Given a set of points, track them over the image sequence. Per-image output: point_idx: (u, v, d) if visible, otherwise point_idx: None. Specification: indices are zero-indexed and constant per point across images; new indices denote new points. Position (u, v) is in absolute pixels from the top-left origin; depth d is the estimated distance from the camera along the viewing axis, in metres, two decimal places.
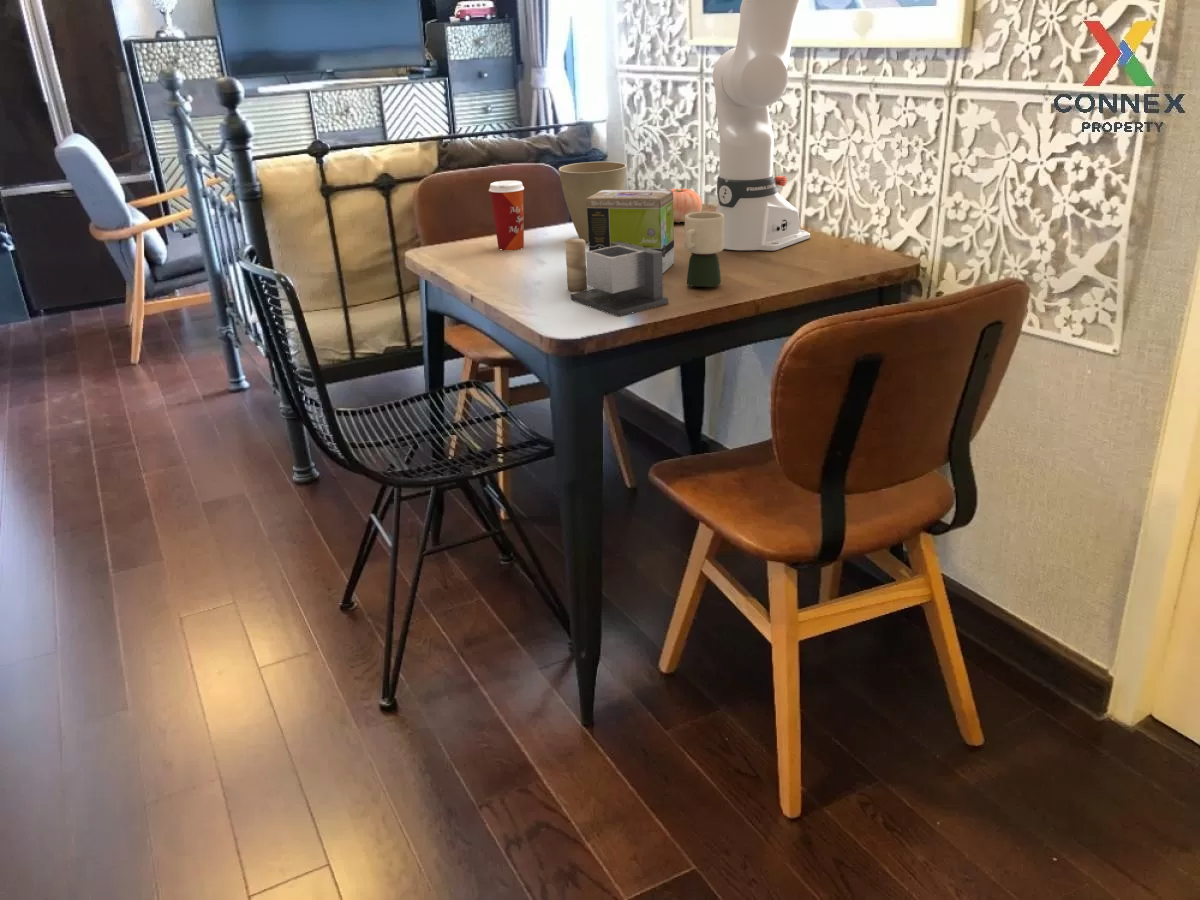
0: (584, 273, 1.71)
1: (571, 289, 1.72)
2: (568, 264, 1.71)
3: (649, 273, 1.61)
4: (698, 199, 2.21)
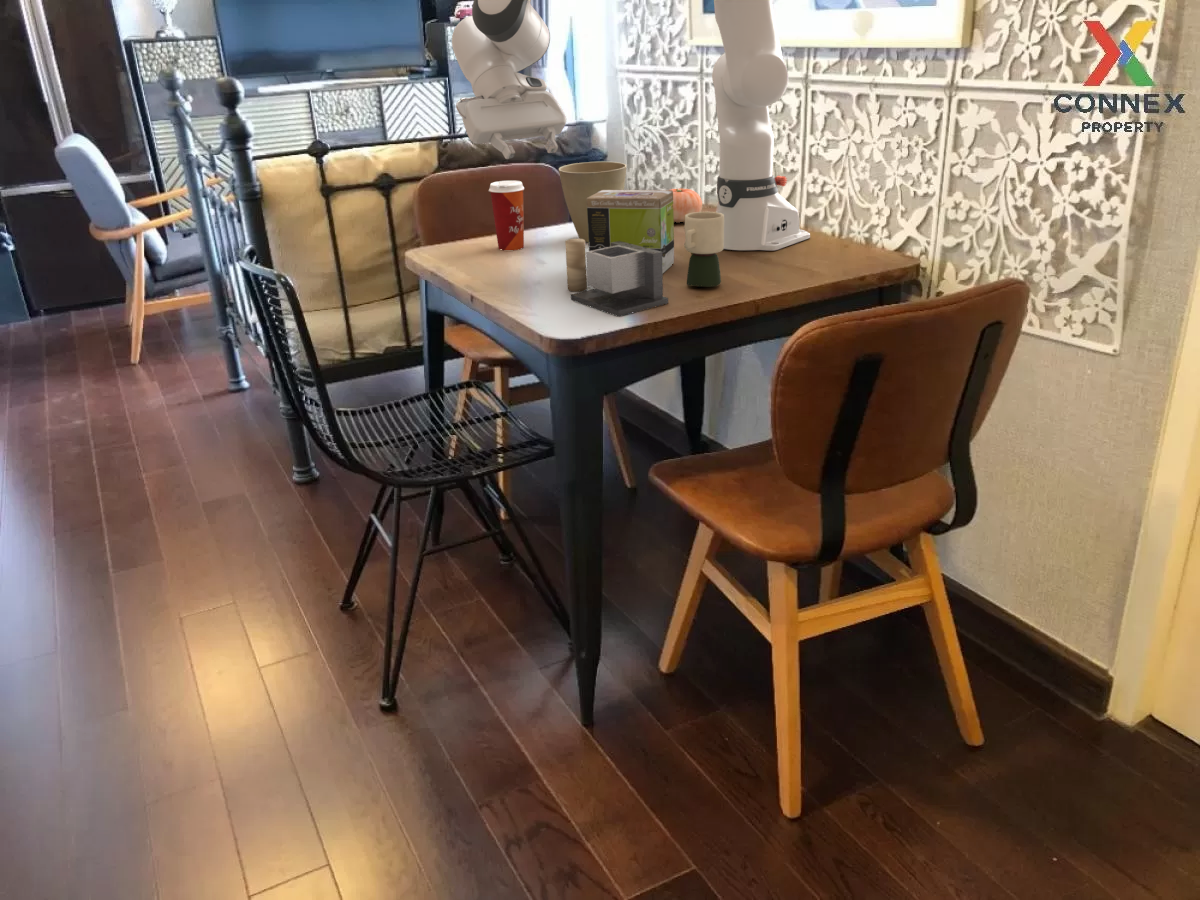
0: (584, 273, 1.71)
1: (571, 289, 1.72)
2: (568, 264, 1.71)
3: (649, 273, 1.61)
4: (698, 199, 2.21)
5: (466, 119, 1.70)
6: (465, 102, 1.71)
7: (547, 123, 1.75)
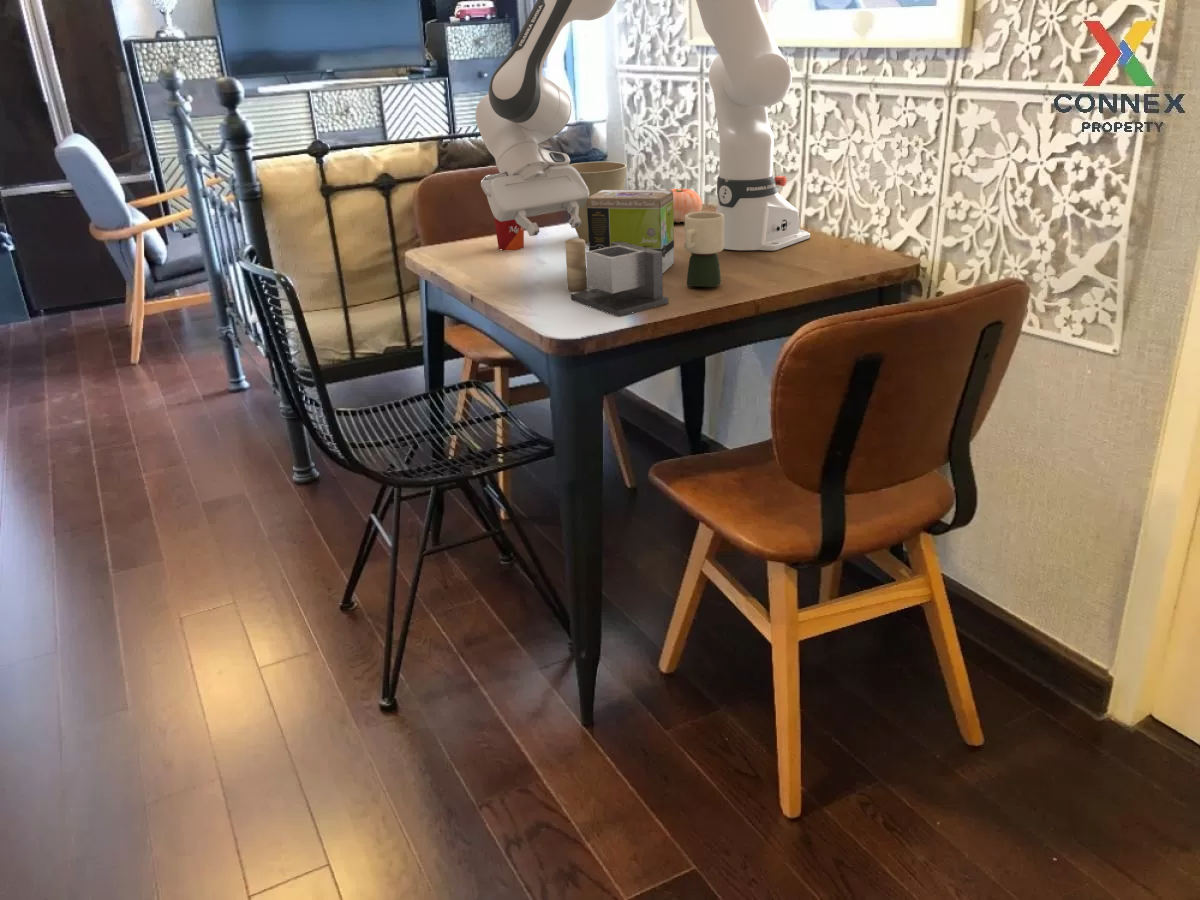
0: (584, 273, 1.71)
1: (571, 289, 1.72)
2: (568, 264, 1.71)
3: (649, 273, 1.61)
4: (698, 199, 2.21)
5: (490, 197, 1.71)
6: (489, 179, 1.72)
7: (571, 198, 1.76)
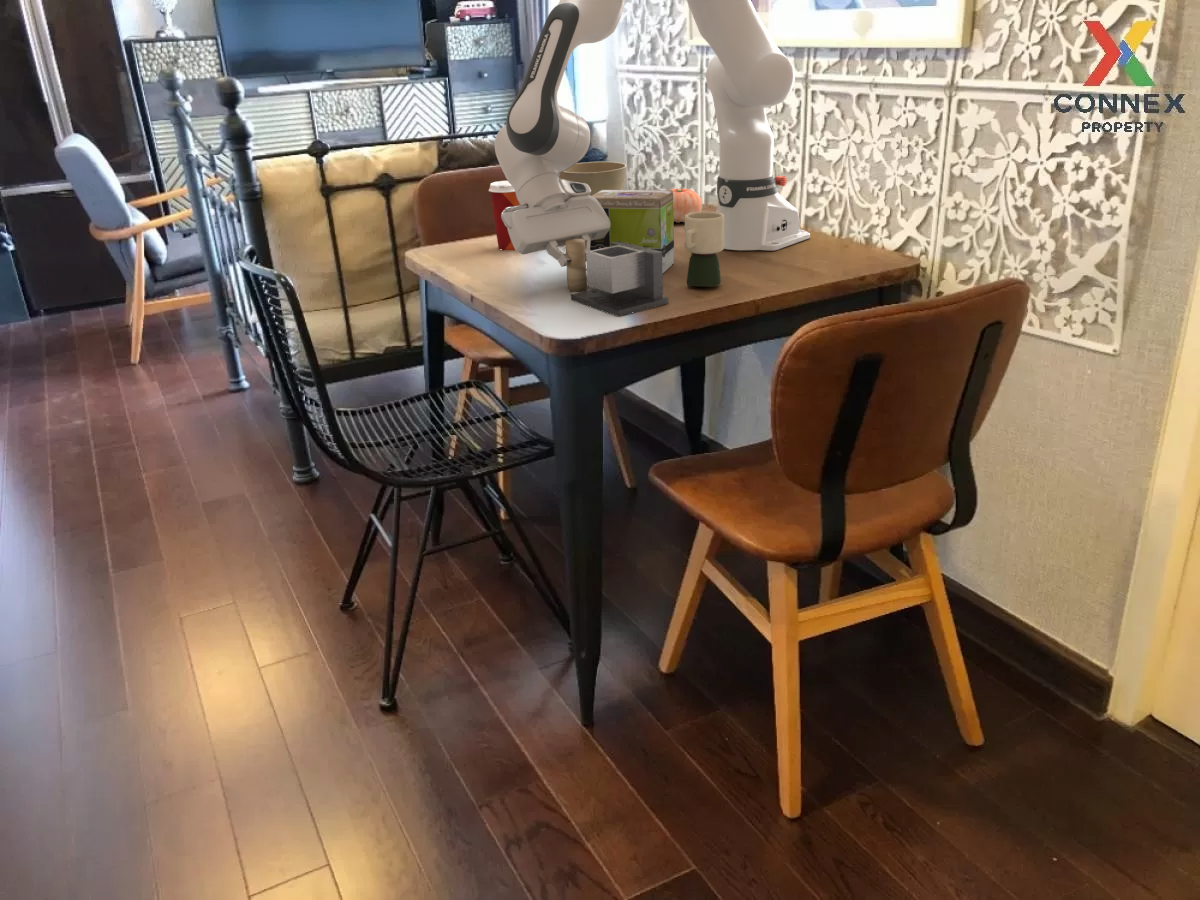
0: (584, 273, 1.71)
1: (571, 289, 1.72)
2: None
3: (649, 273, 1.61)
4: (698, 199, 2.21)
5: (511, 229, 1.68)
6: (510, 212, 1.69)
7: (592, 230, 1.73)
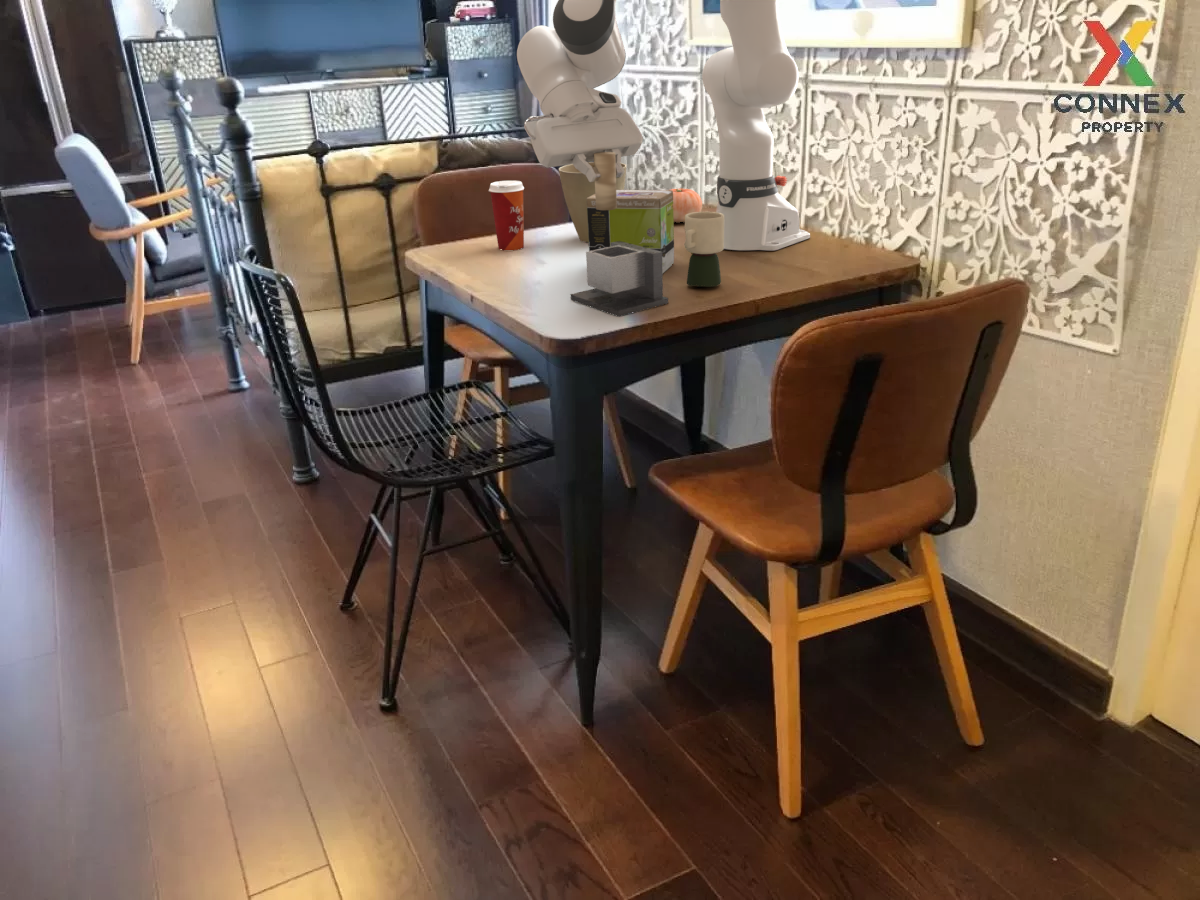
0: (614, 190, 1.57)
1: (600, 207, 1.58)
2: None
3: (649, 273, 1.61)
4: (698, 199, 2.21)
5: (535, 140, 1.54)
6: (534, 121, 1.55)
7: (623, 143, 1.59)
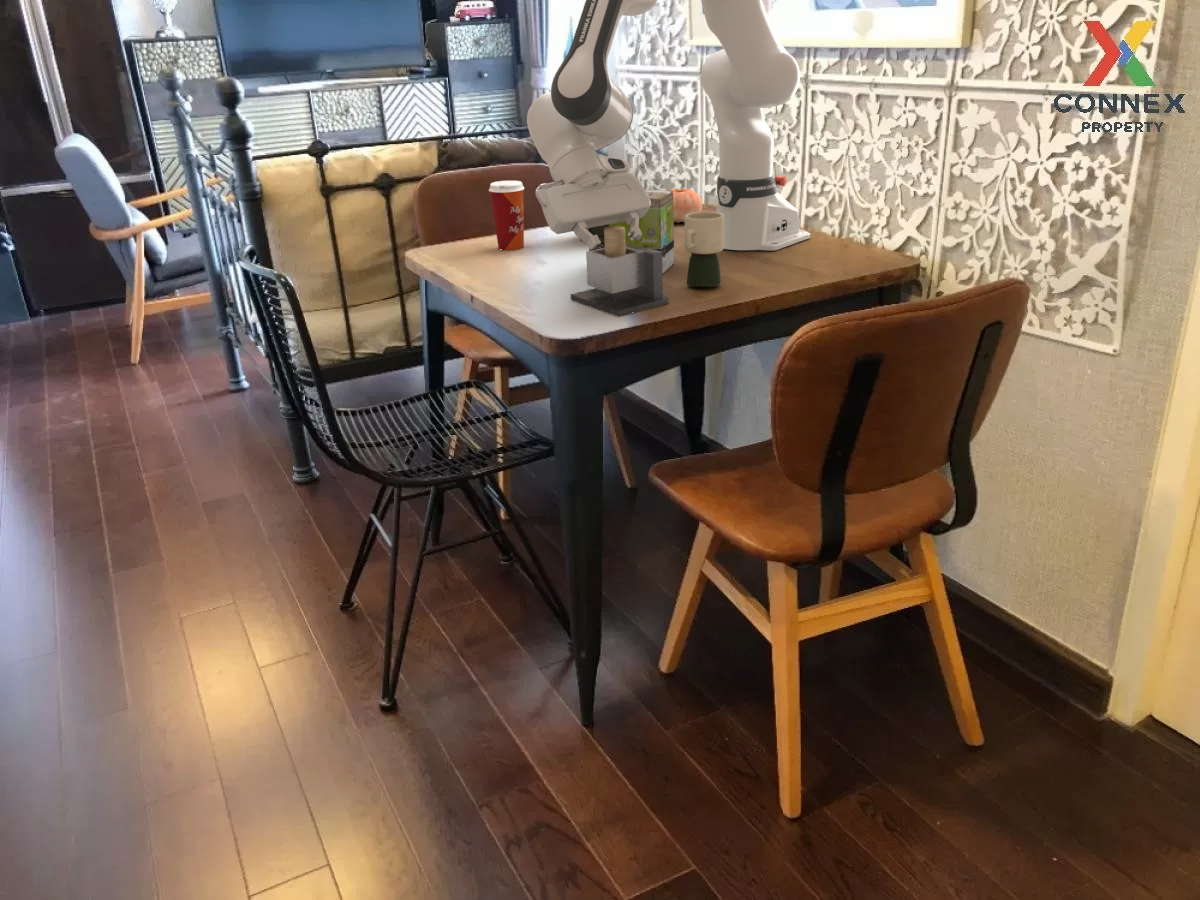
0: None
1: None
2: (607, 253, 1.60)
3: (649, 273, 1.61)
4: (698, 199, 2.21)
5: (546, 207, 1.57)
6: (545, 188, 1.58)
7: (631, 208, 1.62)
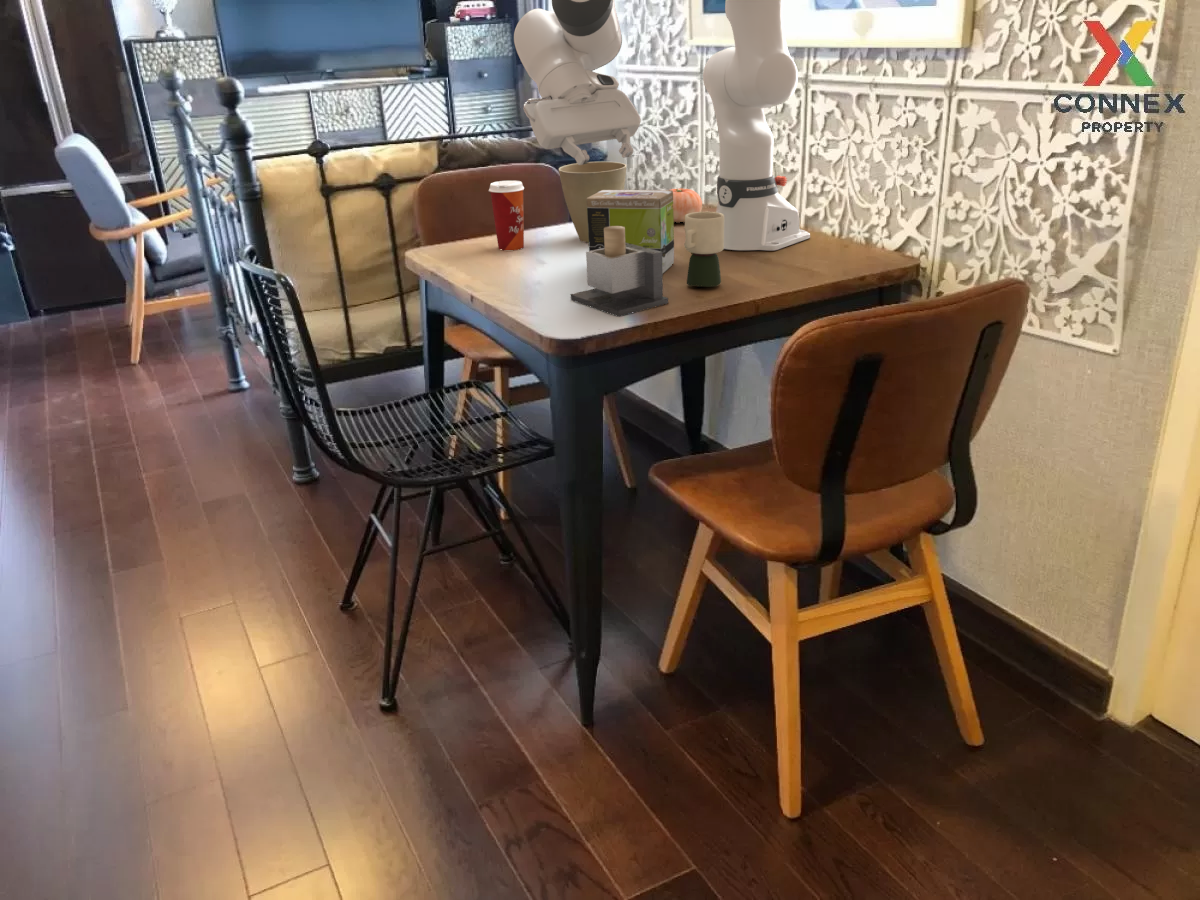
0: None
1: None
2: (607, 253, 1.60)
3: (649, 273, 1.61)
4: (698, 199, 2.21)
5: (534, 122, 1.54)
6: (533, 103, 1.55)
7: (621, 125, 1.60)
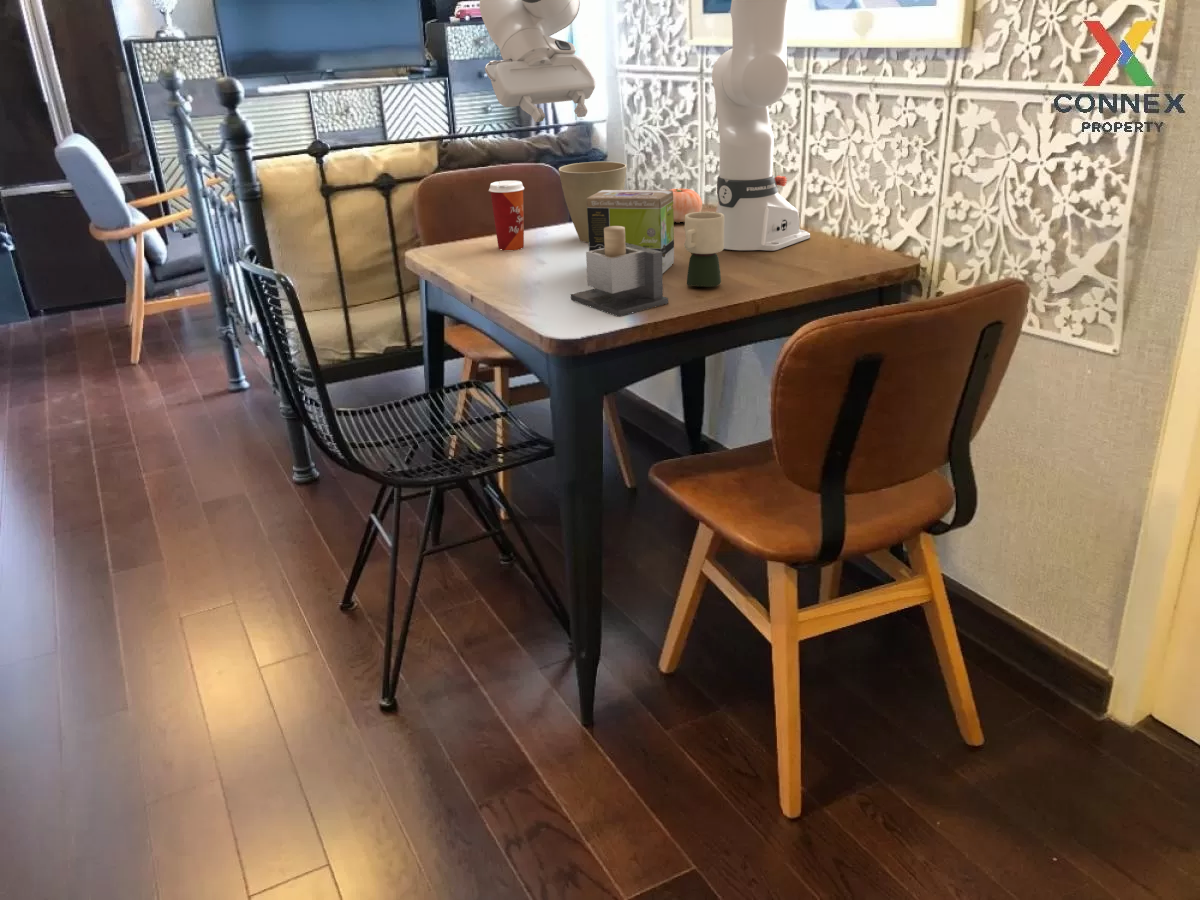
0: None
1: None
2: (607, 253, 1.60)
3: (649, 273, 1.61)
4: (698, 199, 2.21)
5: (495, 82, 1.68)
6: (494, 65, 1.69)
7: (576, 87, 1.73)
